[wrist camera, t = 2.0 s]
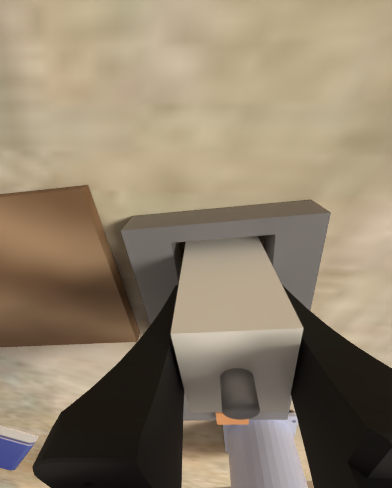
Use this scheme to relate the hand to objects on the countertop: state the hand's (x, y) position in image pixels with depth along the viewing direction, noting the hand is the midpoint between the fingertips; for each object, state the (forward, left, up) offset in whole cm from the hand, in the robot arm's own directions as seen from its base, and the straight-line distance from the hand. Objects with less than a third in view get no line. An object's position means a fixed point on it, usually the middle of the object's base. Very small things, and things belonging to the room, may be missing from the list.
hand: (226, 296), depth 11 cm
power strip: (-6, 0, -3) cm, 7 cm away
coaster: (0, +13, -3) cm, 13 cm away
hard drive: (-28, +33, -4) cm, 43 cm away
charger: (0, 0, -3) cm, 3 cm away
